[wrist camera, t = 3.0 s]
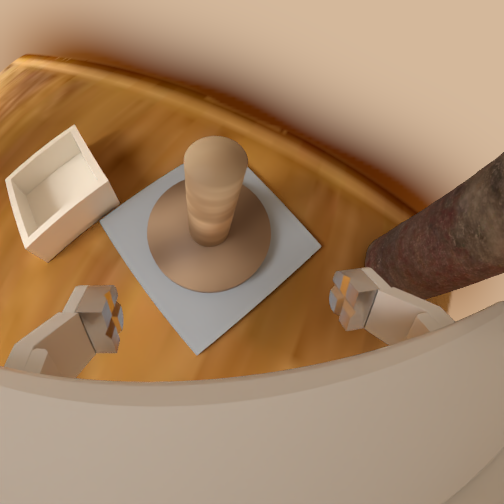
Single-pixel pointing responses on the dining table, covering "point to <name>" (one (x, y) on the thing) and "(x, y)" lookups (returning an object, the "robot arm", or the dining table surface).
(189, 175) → the lid
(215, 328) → the mat
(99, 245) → the dining table surface
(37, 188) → the dish
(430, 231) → the candle
